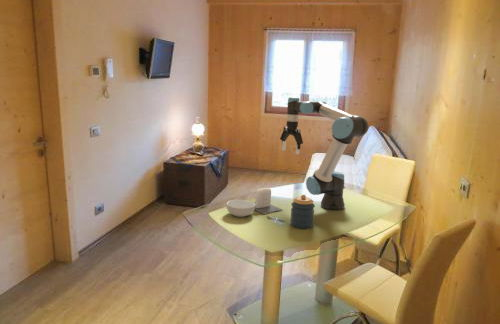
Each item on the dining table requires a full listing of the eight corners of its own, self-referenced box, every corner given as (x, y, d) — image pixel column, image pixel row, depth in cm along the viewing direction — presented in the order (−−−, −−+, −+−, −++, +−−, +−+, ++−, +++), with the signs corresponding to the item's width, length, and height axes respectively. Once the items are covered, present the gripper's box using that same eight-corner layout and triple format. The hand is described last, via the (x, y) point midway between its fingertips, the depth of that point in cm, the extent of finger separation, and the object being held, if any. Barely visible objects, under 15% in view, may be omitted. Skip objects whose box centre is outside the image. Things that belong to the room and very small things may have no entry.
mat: (282, 210, 239) (282, 209, 239) (263, 214, 231) (263, 213, 231) (262, 201, 255) (262, 200, 255) (244, 205, 246) (244, 204, 246)
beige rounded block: (267, 204, 247) (268, 186, 245) (271, 206, 244) (272, 187, 241) (254, 207, 242) (254, 188, 239) (258, 209, 238) (258, 189, 236)
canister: (290, 219, 224) (291, 190, 220) (312, 221, 223) (314, 192, 219) (290, 228, 211) (291, 197, 207) (313, 230, 210) (316, 198, 206)
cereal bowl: (235, 221, 218) (235, 209, 216) (221, 212, 232) (221, 201, 230) (260, 217, 227) (260, 205, 225) (245, 208, 240) (245, 197, 239)
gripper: (309, 122, 248) (307, 155, 253) (284, 118, 268) (282, 148, 272) (301, 123, 244) (299, 156, 248) (276, 119, 263) (274, 149, 268)
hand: (290, 152), depth 260 cm, fingers open, 13 cm apart
